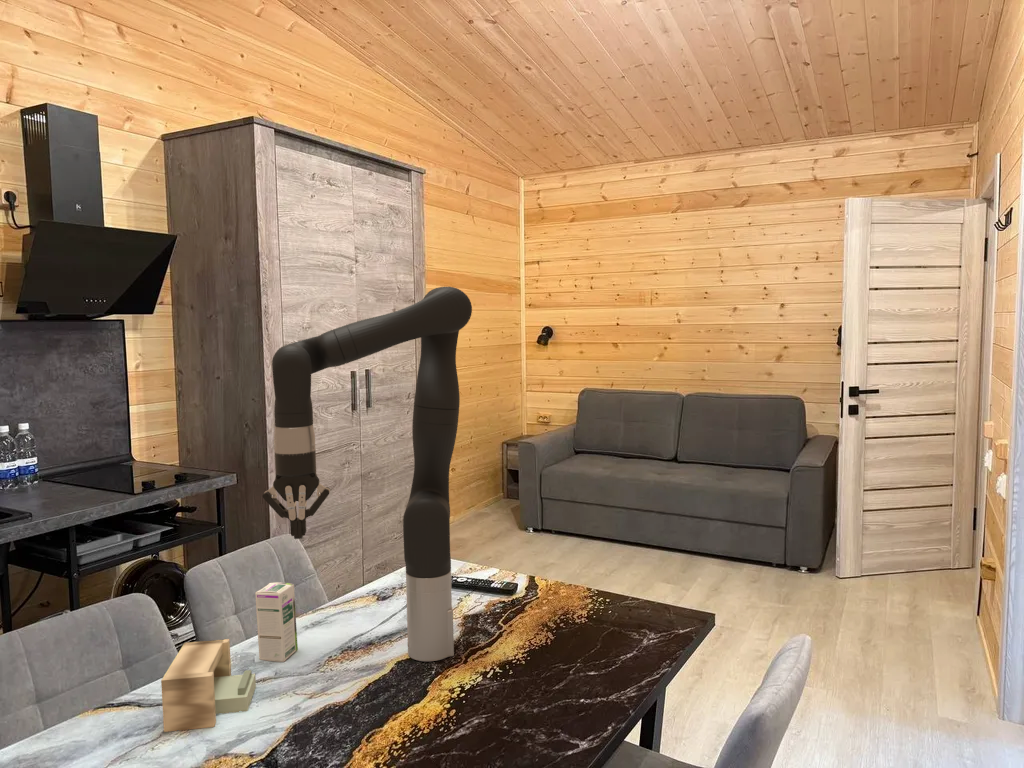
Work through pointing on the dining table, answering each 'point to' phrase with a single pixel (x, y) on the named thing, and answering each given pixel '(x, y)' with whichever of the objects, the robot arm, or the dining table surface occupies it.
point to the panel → (234, 692)
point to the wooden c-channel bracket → (194, 684)
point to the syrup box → (276, 621)
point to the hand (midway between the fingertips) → (298, 537)
